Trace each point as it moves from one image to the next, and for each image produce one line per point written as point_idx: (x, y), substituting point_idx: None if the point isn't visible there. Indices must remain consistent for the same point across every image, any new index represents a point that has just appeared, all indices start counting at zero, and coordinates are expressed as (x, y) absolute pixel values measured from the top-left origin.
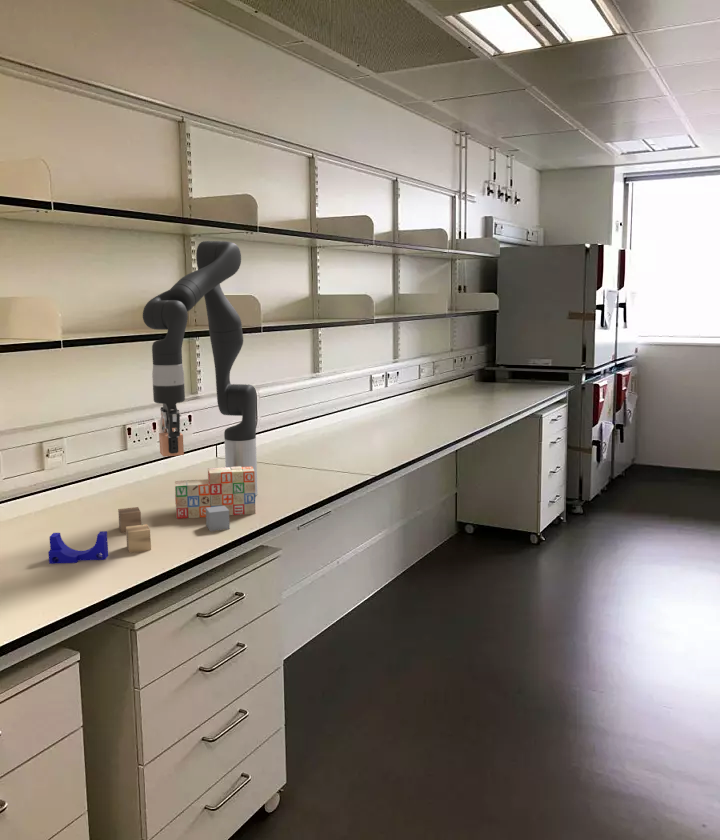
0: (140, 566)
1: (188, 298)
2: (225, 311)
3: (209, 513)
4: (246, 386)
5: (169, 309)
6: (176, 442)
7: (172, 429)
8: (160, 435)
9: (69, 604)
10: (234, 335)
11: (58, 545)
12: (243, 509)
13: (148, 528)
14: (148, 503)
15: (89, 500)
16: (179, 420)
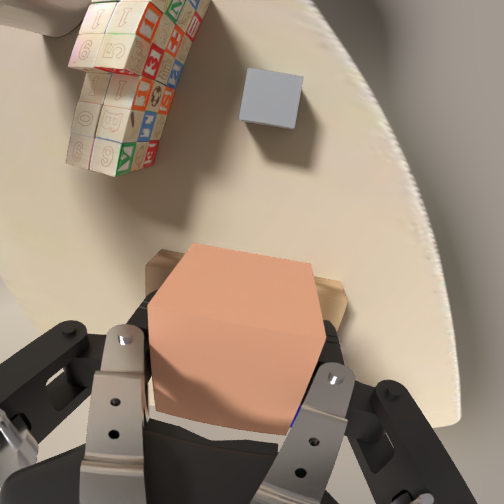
0: (403, 317)
1: None
2: None
3: (293, 128)
4: None
5: None
6: (341, 356)
7: (144, 364)
8: (214, 420)
9: (441, 394)
10: None
11: (298, 410)
12: (198, 17)
13: (336, 302)
14: (36, 190)
15: (8, 271)
16: (462, 480)
